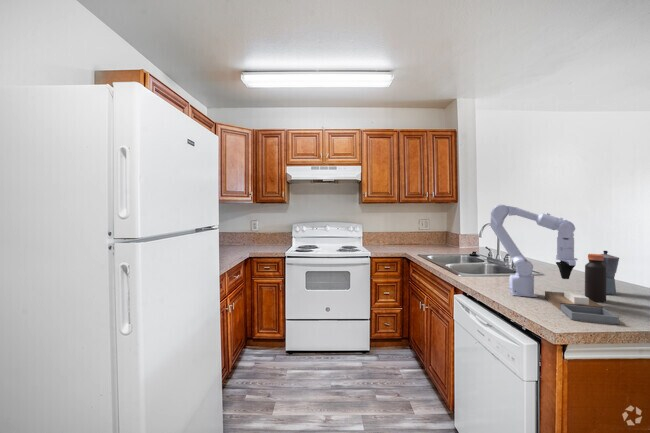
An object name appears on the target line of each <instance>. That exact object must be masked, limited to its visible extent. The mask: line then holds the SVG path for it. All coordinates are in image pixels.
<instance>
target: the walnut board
mask: <svg viewBox="0 0 650 433" xmlns="http://www.w3.org/2000/svg"><path fill="white" fill-rule="evenodd" d="M544 299H546V300H547V301H548V302H549V303H550V304H552V305H553V306H554V307H556V308H557V309H558V310H560V311H561V304H564V305H575V306H586V307H598V308H604V306H603V305H601V304H600V303H598V302H594V301H592V300H591V299H589V305H586V304H575V303H573V302H571V301H570V300H569V299H567V298H566V297H564V292H561V291H559V292H558V291H550V290H549V291H546V290H545V291H544Z"/></svg>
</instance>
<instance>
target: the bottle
mask: <svg viewBox="0 0 650 433" xmlns="http://www.w3.org/2000/svg"><path fill="white" fill-rule="evenodd" d="M600 254H601V253H600ZM600 254H599V253H588V254H587V260H588V262H587V263H586V264H585V265H584V296H586V297H588V298H589V299H591V300H592V301H594V302H596V303H606V302H607V294H606V278H607V268H606V266H605V265H604V264H603V263H602V262H603V260H604V255H600Z"/></svg>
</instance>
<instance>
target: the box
mask: <svg viewBox="0 0 650 433" xmlns="http://www.w3.org/2000/svg"><path fill="white" fill-rule="evenodd" d="M560 312H562V313H563V314H564V315H565V316H566V317H568V318H569V319H570V320H571V321H572V320H573V321H580V322H590V323H591V322H592V323H598V324H599V323H600V324H609V325H618V326H619V324H620V317H619V316H617V315H616V314H615V313H613V312H611V311H609V310H607V309H606V308H604V307H603V308H598V307H586V306H575V305H564V304H561V310H560Z"/></svg>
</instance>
